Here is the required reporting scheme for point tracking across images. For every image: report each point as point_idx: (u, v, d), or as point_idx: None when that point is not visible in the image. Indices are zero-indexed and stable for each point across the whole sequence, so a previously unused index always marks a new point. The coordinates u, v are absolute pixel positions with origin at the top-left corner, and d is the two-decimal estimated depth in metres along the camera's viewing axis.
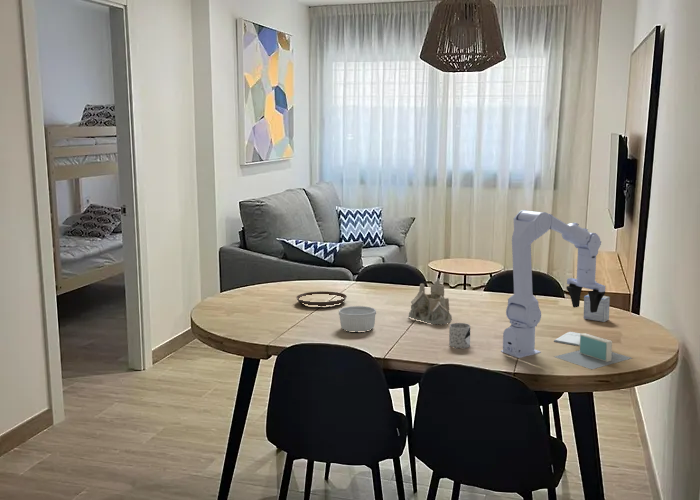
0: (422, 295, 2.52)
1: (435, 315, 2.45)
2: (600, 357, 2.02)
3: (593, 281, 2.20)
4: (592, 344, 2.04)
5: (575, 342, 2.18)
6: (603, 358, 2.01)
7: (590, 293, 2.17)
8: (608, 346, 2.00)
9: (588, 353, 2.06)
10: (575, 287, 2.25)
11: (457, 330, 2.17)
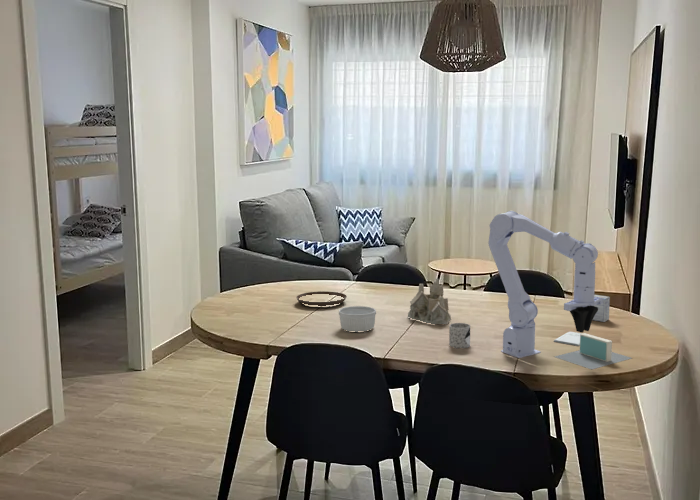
0: (421, 295, 2.52)
1: (434, 315, 2.45)
2: (600, 357, 2.02)
3: (578, 300, 1.98)
4: (592, 344, 2.04)
5: (574, 342, 2.18)
6: (603, 358, 2.01)
7: None
8: (608, 346, 2.00)
9: (588, 353, 2.06)
10: (584, 307, 2.01)
11: (457, 330, 2.17)
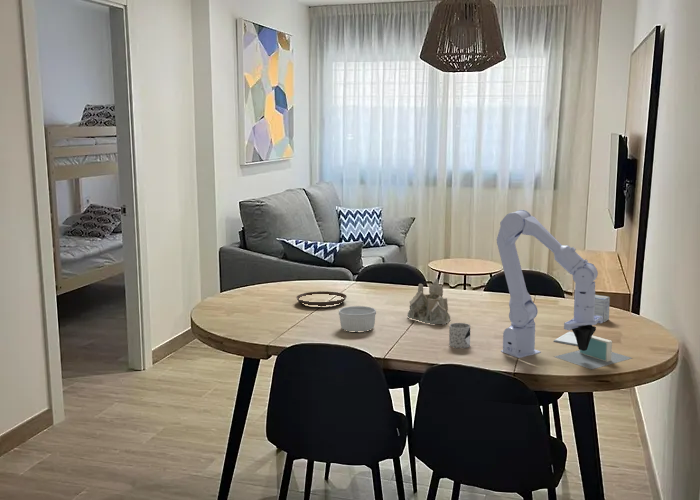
0: (421, 295, 2.52)
1: (434, 315, 2.45)
2: (600, 357, 2.02)
3: (578, 319, 1.99)
4: (592, 344, 2.04)
5: (574, 342, 2.18)
6: (603, 358, 2.01)
7: None
8: (608, 346, 2.00)
9: (588, 353, 2.06)
10: None
11: (457, 330, 2.17)
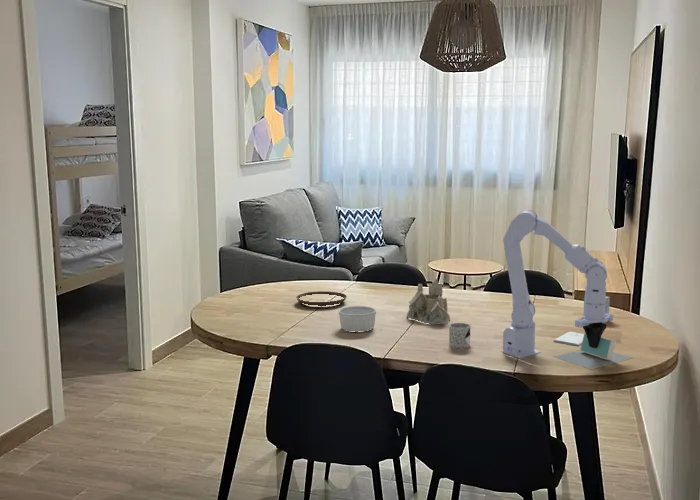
0: (420, 295, 2.52)
1: (433, 315, 2.45)
2: (601, 355, 2.02)
3: (589, 316, 2.01)
4: None
5: (574, 342, 2.18)
6: (604, 356, 2.02)
7: None
8: (611, 344, 2.01)
9: (589, 351, 2.06)
10: None
11: (457, 330, 2.17)
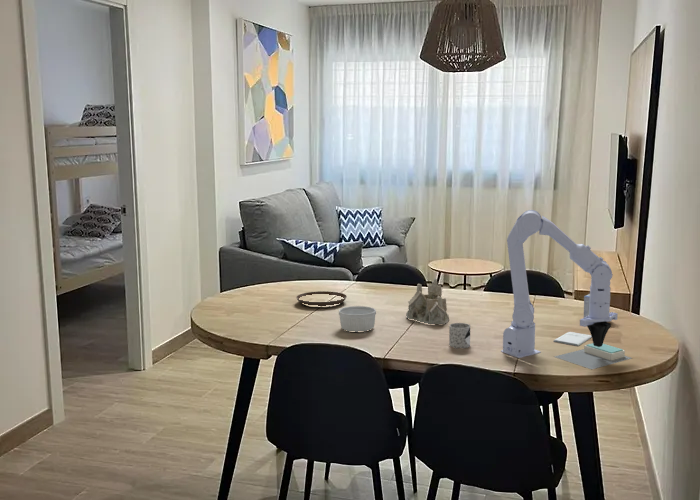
0: (419, 295, 2.51)
1: (432, 315, 2.45)
2: (607, 350, 2.04)
3: (594, 315, 2.02)
4: (606, 346, 2.08)
5: (574, 342, 2.18)
6: (610, 351, 2.03)
7: None
8: (621, 352, 2.04)
9: (595, 347, 2.07)
10: None
11: (457, 330, 2.17)
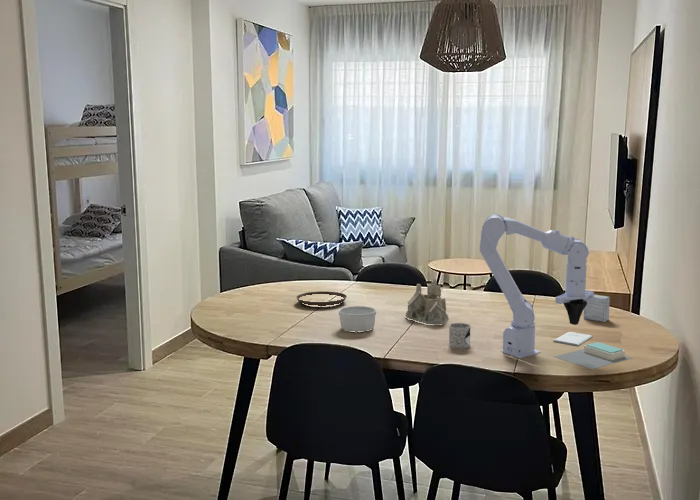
0: (419, 295, 2.51)
1: (432, 315, 2.44)
2: (607, 350, 2.04)
3: (570, 293, 2.04)
4: (606, 346, 2.08)
5: (574, 342, 2.18)
6: (610, 351, 2.03)
7: None
8: (621, 352, 2.04)
9: (595, 347, 2.07)
10: None
11: (457, 330, 2.17)
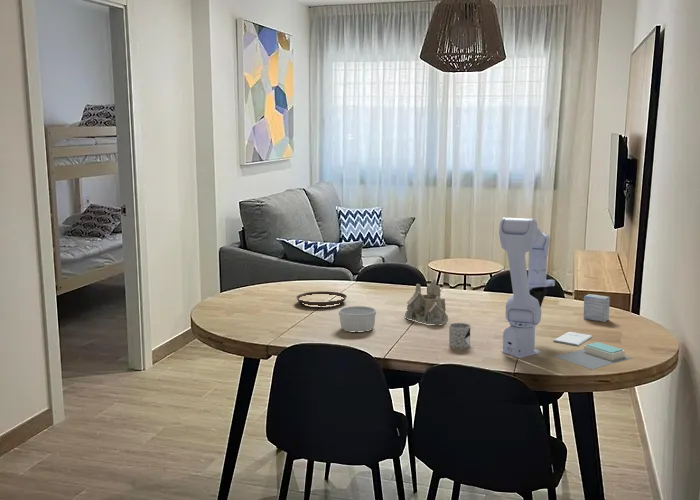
0: (418, 295, 2.51)
1: (431, 315, 2.44)
2: (607, 350, 2.04)
3: (532, 281, 2.21)
4: (606, 346, 2.08)
5: (574, 342, 2.18)
6: (610, 351, 2.03)
7: None
8: (621, 352, 2.04)
9: (595, 347, 2.07)
10: None
11: (457, 330, 2.17)
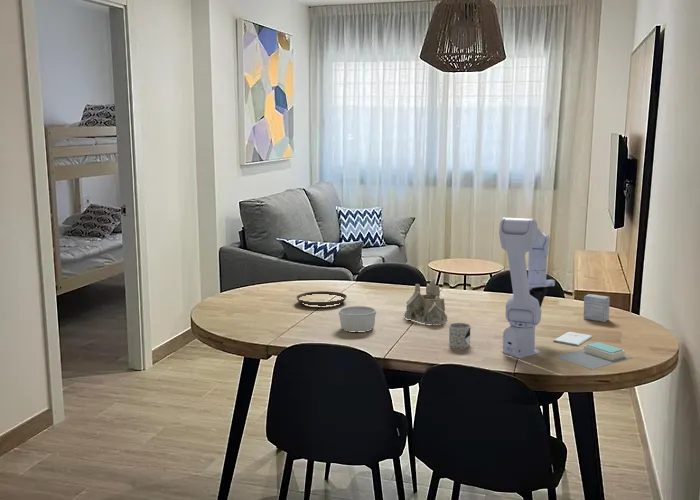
0: (418, 295, 2.51)
1: (431, 316, 2.44)
2: (607, 350, 2.04)
3: (532, 281, 2.21)
4: (606, 346, 2.08)
5: (574, 342, 2.18)
6: (610, 351, 2.03)
7: None
8: (621, 352, 2.04)
9: (595, 347, 2.07)
10: None
11: (457, 330, 2.17)
